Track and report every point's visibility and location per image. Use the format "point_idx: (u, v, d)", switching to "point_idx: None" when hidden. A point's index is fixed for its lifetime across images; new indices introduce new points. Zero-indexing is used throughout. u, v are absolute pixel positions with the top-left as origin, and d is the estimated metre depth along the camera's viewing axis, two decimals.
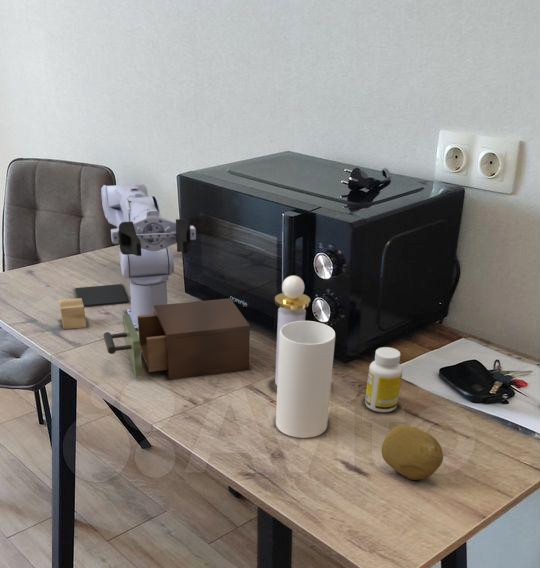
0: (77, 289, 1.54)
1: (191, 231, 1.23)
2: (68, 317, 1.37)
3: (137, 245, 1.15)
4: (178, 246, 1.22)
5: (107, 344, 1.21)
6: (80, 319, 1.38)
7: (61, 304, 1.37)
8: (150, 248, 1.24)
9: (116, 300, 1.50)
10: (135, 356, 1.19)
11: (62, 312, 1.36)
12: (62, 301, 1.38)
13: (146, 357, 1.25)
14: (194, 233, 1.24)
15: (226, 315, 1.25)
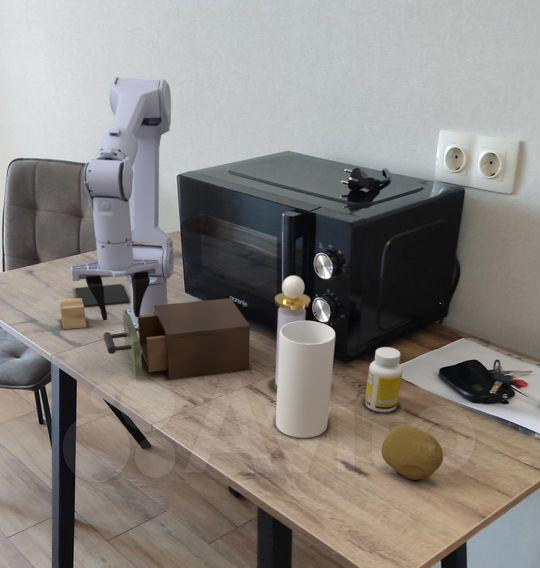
0: (77, 289, 1.54)
1: (156, 273, 1.18)
2: (68, 317, 1.37)
3: (103, 319, 1.19)
4: (132, 283, 1.19)
5: (107, 344, 1.21)
6: (80, 319, 1.38)
7: (61, 304, 1.37)
8: None
9: (116, 300, 1.50)
10: (135, 356, 1.19)
11: (62, 312, 1.36)
12: (62, 301, 1.38)
13: (146, 357, 1.25)
14: None
15: (226, 315, 1.25)
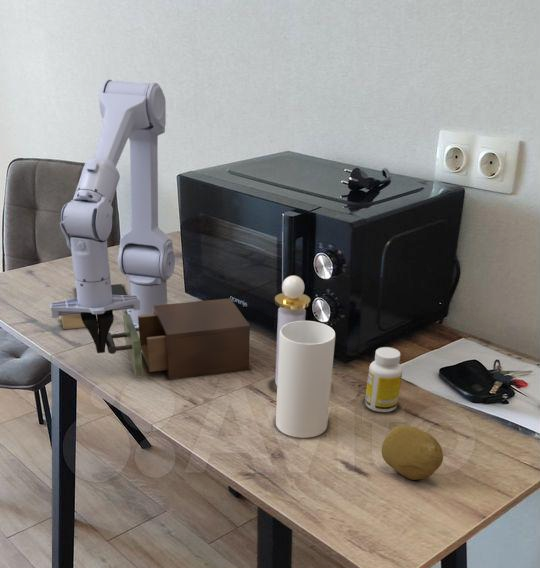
0: None
1: None
2: (68, 317, 1.37)
3: None
4: (97, 319, 1.21)
5: (107, 344, 1.21)
6: (80, 319, 1.38)
7: None
8: None
9: None
10: (135, 356, 1.19)
11: None
12: None
13: (146, 357, 1.25)
14: None
15: (226, 315, 1.25)
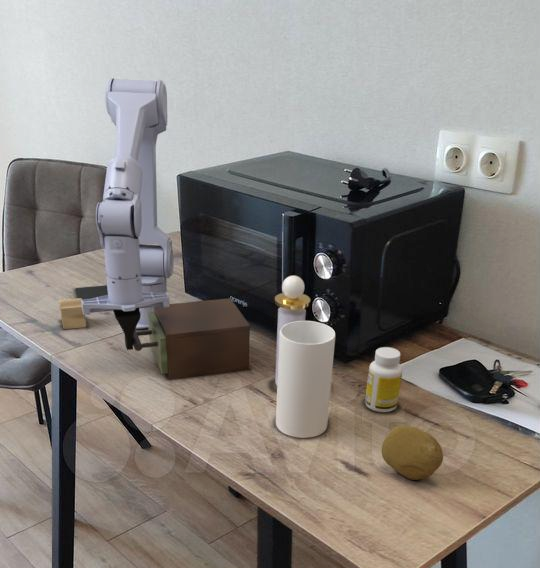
0: (77, 289, 1.54)
1: None
2: (68, 317, 1.37)
3: None
4: None
5: (133, 341, 1.22)
6: (80, 319, 1.38)
7: (61, 304, 1.37)
8: None
9: None
10: (161, 353, 1.20)
11: (62, 312, 1.36)
12: (62, 301, 1.38)
13: None
14: None
15: (226, 315, 1.25)
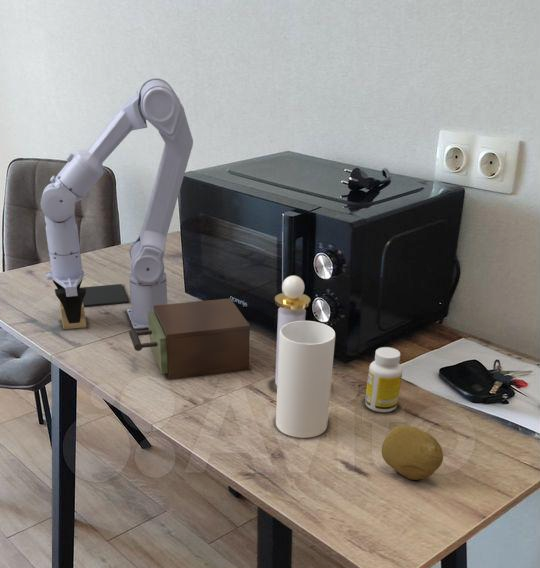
0: None
1: None
2: None
3: None
4: (78, 296, 1.35)
5: (133, 341, 1.22)
6: (80, 319, 1.38)
7: (61, 304, 1.37)
8: None
9: (116, 300, 1.50)
10: (161, 353, 1.20)
11: (62, 312, 1.36)
12: None
13: None
14: (71, 295, 1.30)
15: (226, 315, 1.25)
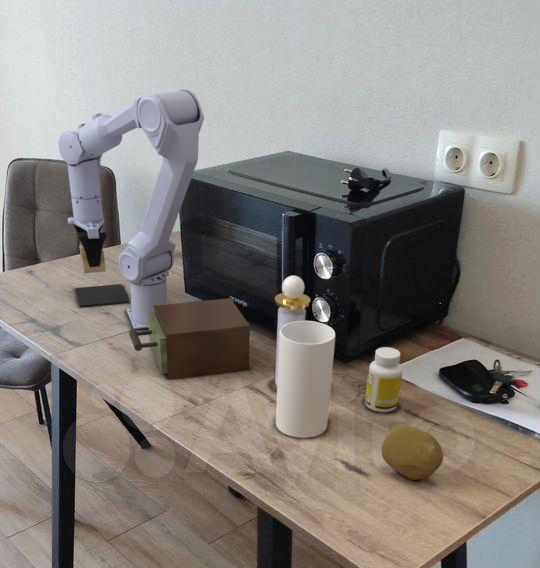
0: (77, 289, 1.54)
1: None
2: None
3: None
4: None
5: (133, 341, 1.22)
6: None
7: (82, 249, 1.44)
8: None
9: (116, 300, 1.50)
10: (161, 353, 1.20)
11: (83, 256, 1.43)
12: (83, 247, 1.45)
13: None
14: (93, 237, 1.36)
15: (226, 315, 1.25)
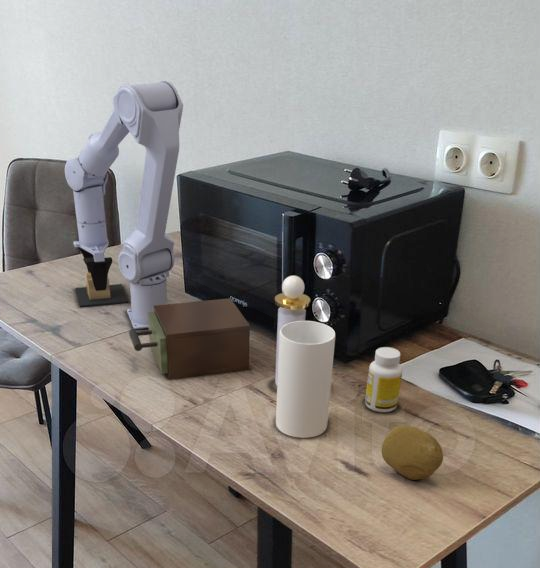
0: (77, 289, 1.54)
1: None
2: (94, 288, 1.49)
3: None
4: None
5: (133, 341, 1.22)
6: (104, 290, 1.50)
7: (87, 276, 1.49)
8: None
9: (116, 300, 1.50)
10: (161, 353, 1.20)
11: (89, 283, 1.48)
12: (88, 274, 1.50)
13: None
14: (99, 261, 1.41)
15: (226, 315, 1.25)
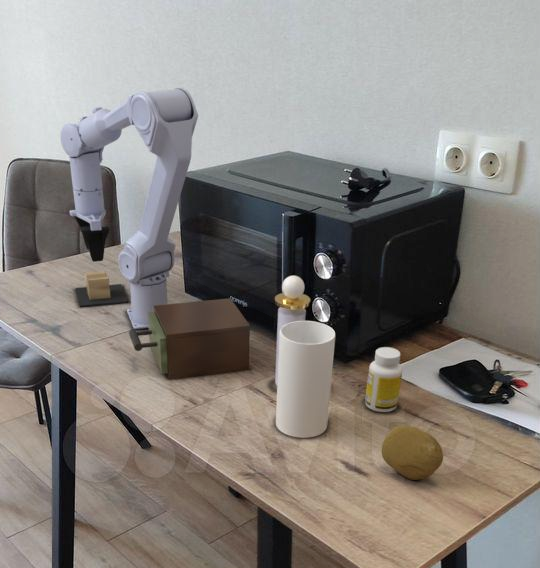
0: (77, 289, 1.54)
1: None
2: (94, 288, 1.49)
3: None
4: None
5: (133, 341, 1.22)
6: (104, 290, 1.50)
7: (87, 276, 1.49)
8: None
9: (116, 300, 1.50)
10: (161, 353, 1.20)
11: (89, 283, 1.48)
12: (88, 274, 1.50)
13: None
14: (95, 229, 1.38)
15: (226, 315, 1.25)
